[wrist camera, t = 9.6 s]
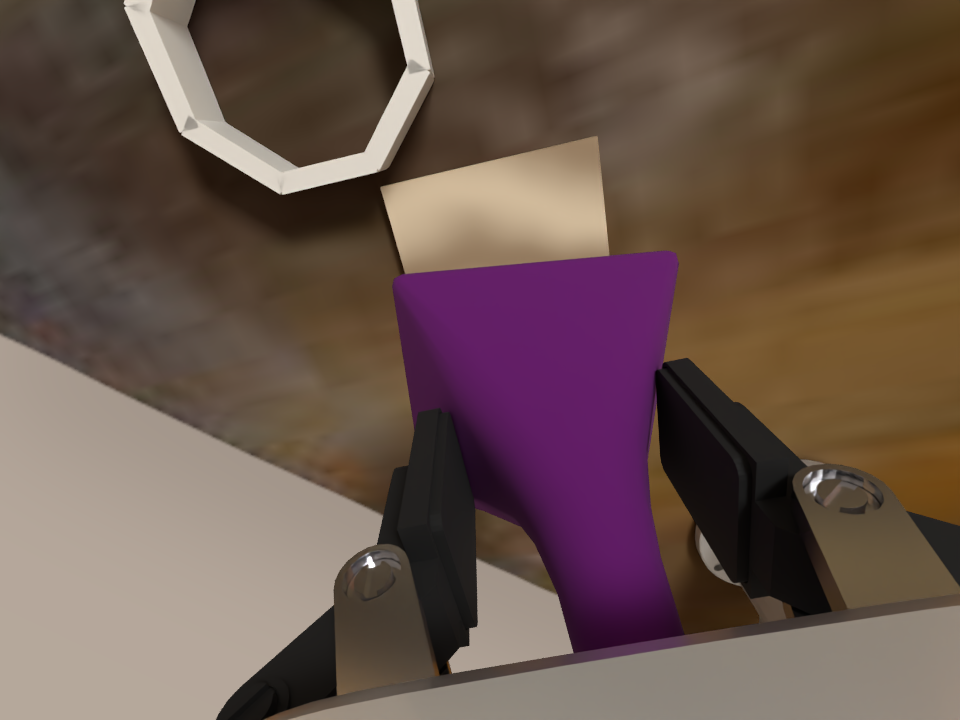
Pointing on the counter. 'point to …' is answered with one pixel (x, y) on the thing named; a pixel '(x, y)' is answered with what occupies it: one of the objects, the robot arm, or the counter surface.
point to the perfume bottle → (556, 418)
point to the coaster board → (502, 211)
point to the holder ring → (188, 94)
